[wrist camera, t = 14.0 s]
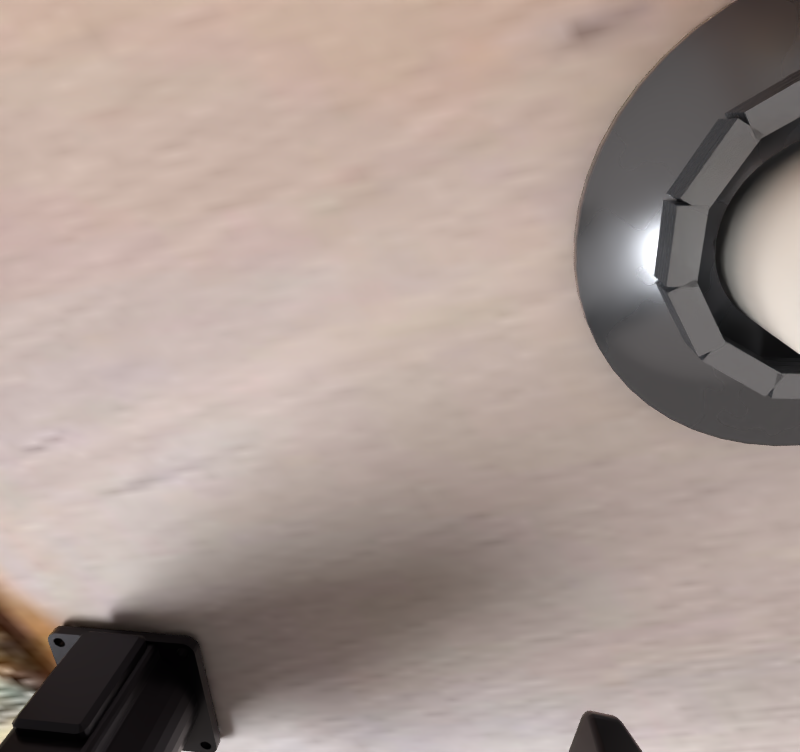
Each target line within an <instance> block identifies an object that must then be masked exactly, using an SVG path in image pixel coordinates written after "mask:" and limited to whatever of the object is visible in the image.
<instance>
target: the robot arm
mask: <svg viewBox="0 0 800 752" xmlns="http://www.w3.org/2000/svg"><path fill="white" fill-rule="evenodd" d="M48 642H49V645H50V647H51V650H52V653H53V656H54V658H55V661H56V664H57V666H56V667H55V668H54V670H53V671H52V672H51V673H50V675H49V676H48V677H47V679H46V680H45V681H44V682H43V684H42V685H41V686H40V687H39V689H38V690H37V691H36V692H35V694H34V695H33V696H32V697H31V699H30V700H29V701H28V702H27V704H26V705H25V706H24V707H23V709H22V710H21V711H20V712H19V714H18V715H17V716H16V717H15V719H14V721H13V722H12V724H13V729H12V730H11V731H10V733H9V734H8V735H7V736H6V738H5V739H4V740H3V742H2V743H1V744H0V752H181V751H182V750H183V751H192V752H215V751H216V750H217V747H218V745H219V743H220V734H219V730H218V725H217V721H216V717H215V712H214V708H213V704H212V699H211V695H210V691H209V686H208V682H207V678H206V673H205V669H204V664H203V660H202V656H201V651H200V647H199V644H198V642H197V641H196V640H195V639H193V638H191V637H189V636H182V635H169V634H157V633H144V632H132V631H119V630H106V629H94V628H81V627H69V626H58V627H57V628H55V629H54V631H53V632H52V633H51V634H50V635H49V637H48ZM569 752H642V750H641V749H640V748H639V746H638V745H637V743H636V742H635V740H634V739H633V737H632V736H631V735H630V733H629V732H628V730H627V729H626V727H625V726H624V724H623V723H622V722H621V721H620V720H619V719H618V718H617V717H615V716H613V715H609V714H604V713H599V712H594V711H587V712H585V713H584V714H583V716H582V718H581V720H580V723H579V725H578V728H577V731H576V734H575V736H574V739H573V742H572V744H571V747H570V750H569Z"/></svg>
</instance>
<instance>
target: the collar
mask: <svg viewBox="0 0 800 752" xmlns="http://www.w3.org/2000/svg"><path fill="white" fill-rule="evenodd" d="M798 141H800V0H737V1H735V2H733V3H732V4H730V5H728V6H726V7H724V8H723V9H721V10H720V11H719V12H717V13H716V14H714V15H713V16H712V17H710V18H709V19H707V20H706V21H705V22H703V23H702V24H701V25H699V26H698V27H696V28H695V29H694V30H692V31H691V32H690V33H689V34H687V35H686V36H685V37H684V38H683V39H682V40H681V41H680V42H679V43H677V44H676V45H675V46H674V47H673V48H672V49H671V50H670V51H669V52H667V53H666V54H665V55H664V56H663V57H662V58H661V59H660V60H659V61H658V62H657V64H656V65H655V66H654V67H653V68H652V69H651V70H650V71H649V73H648V74H647V75H646V76H645V77H644V78H643V79H642V80H641V82H640V83H639V84H638V85H637V86H636V87H635V89H634V90H633V92H632V93H631V95H630V96H629V97H628V99H627V100H626V102H625V103H624V104H623V106H622V107H621V109H620V110H619V111H618V113H617V114H616V116H615V118H614V119H613V121H612V123H611V125H610V127H609V128H608V130H607V132H606V134H605V136H604V138H603V139H602V141H601V143H600V145H599V147H598V149H597V152H596V154H595V157H594V159H593V162H592V164H591V167H590V169H589V171H588V174H587V176H586V180H585V184H584V187H583V191H582V195H581V198H580V202H579V206H578V212H577V219H576V226H575V233H574V270H575V277H576V285H577V292H578V296H579V299H580V303H581V306H582V310H583V313H584V317H585V319H586V321H587V324H588V326H589V328H590V330H591V333H592V335H593V337H594V339H595V341H596V343H597V345H598V347H599V349H600V350H601V352H602V353H603V355H604V357H605V358H606V360H607V361H608V363H609V364H610V366H611V368H612V369H613V370H614V371H615V372H616V374H617V375H618V376H619V377H620V378H621V379H622V381H623V382H624V383H625V384H626V385H627V386H628V387H629V388H630V389H631V390H632V391H633V392H634V393H635V394H637V395H638V396H639V397H640V398H641V399H642V400H643V401H645V402H646V403H647V404H648V405H650V406H651V407H653V408H654V409H656V410H657V411H659V412H660V413H662V414H664V415H665V416H667V417H668V418H670V419H672V420H674V421H676V422H678V423H680V424H682V425H685V426H687V427H689V428H691V429H693V430H696V431H699V432H702V433H705V434H708V435H711V436H714V437H717V438H721V439H726V440H731V441H736V442H741V443H747V444H759V445H771V446H788V445H800V354H798V353H797V352H796V351H794V350H793V349H791V348H790V347H789V346H787V345H786V344H784V343H783V342H782V341H780V340H779V339H777V338H776V337H775V336H773V335H772V334H771V333H769V332H768V331H766V330H765V329H764V328H762V327H761V326H759V325H758V324H757V323H755V322H754V321H752V320H751V319H750V318H748V317H747V316H746V315H744V314H743V313H742V312H741V311H739V310H738V309H737V308H736V307H735V305H734V304H733V303H732V302H731V301H730V300H729V298H728V297H727V295H726V293H725V292H724V290H723V288H722V285H721V283H720V281H719V277H718V274H717V270H716V261H715V245H716V239H717V233H718V230H719V226H720V223H721V220H722V217H723V215H724V213H725V211H726V208H727V206H728V205H729V203H730V201H731V199H732V198H733V196H734V194H735V193H736V192H737V190H738V189H739V188H740V186H741V185H742V184H743V182H744V181H745V180H746V179H747V178H748V177H749V176H750V175H751V174H752V173H753V172H754V171H755V170H756V169H757V168H758V167H759V166H760V165H762V164H763V163H764V162H765V161H766V160H767V159H769V158H770V157H772V156H773V155H775V154H776V153H778V152H779V151H781V150H782V149H784V148H786V147H788V146H790V145H792V144H793V143H796V142H798Z"/></svg>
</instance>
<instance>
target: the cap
mask: <svg viewBox="0 0 800 752" xmlns="http://www.w3.org/2000/svg"><path fill="white" fill-rule="evenodd" d="M715 261H716V270H717V274H718V277H719V281H720V283H721V285H722V288H723V290H724V292H725V293H726V295H727V297H728V298H729V300H730V301H731V302H732V303H733V304H734V305H735V307H736V308H737V309H738V310H739V311H741V312H742V313H743V314H744V315H746V316H747V317H748V318H750V319H751V320H752V321H754V322H755V323H757V324H758V325H759V326H761V327H762V328H764V329H765V330H766V331H768V332H769V333H771V334H772V335H773V336H775V337H776V338H777V339H779V340H780V341H782V342H783V343H784V344H786V345H787V346H789V347H790V348H791V349H793V350H794V351H796V352H797V353H798V354H800V141H798V142H796V143H793V144H792V145H790V146H788V147H786V148H784V149H782V150H781V151H779V152H778V153H776V154H775V155H773V156H772V157H770V158H769V159H767V160H766V161H765V162H764V163H763V164H762V165H760V166H759V167H758V168H757V169H756V170H755V171H754V172H753V173H752V174H751V175H750V176H749V177H748V178H747V179H746V180H745V181H744V182H743V184H742V185H741V186H740V188H739V189H738V190H737V192H736V193H735V194H734V196H733V198H732V199H731V201H730V203H729V205H728V206H727V208H726V211H725V213H724V215H723V217H722V220H721V223H720V226H719V230H718V233H717V239H716V245H715Z"/></svg>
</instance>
